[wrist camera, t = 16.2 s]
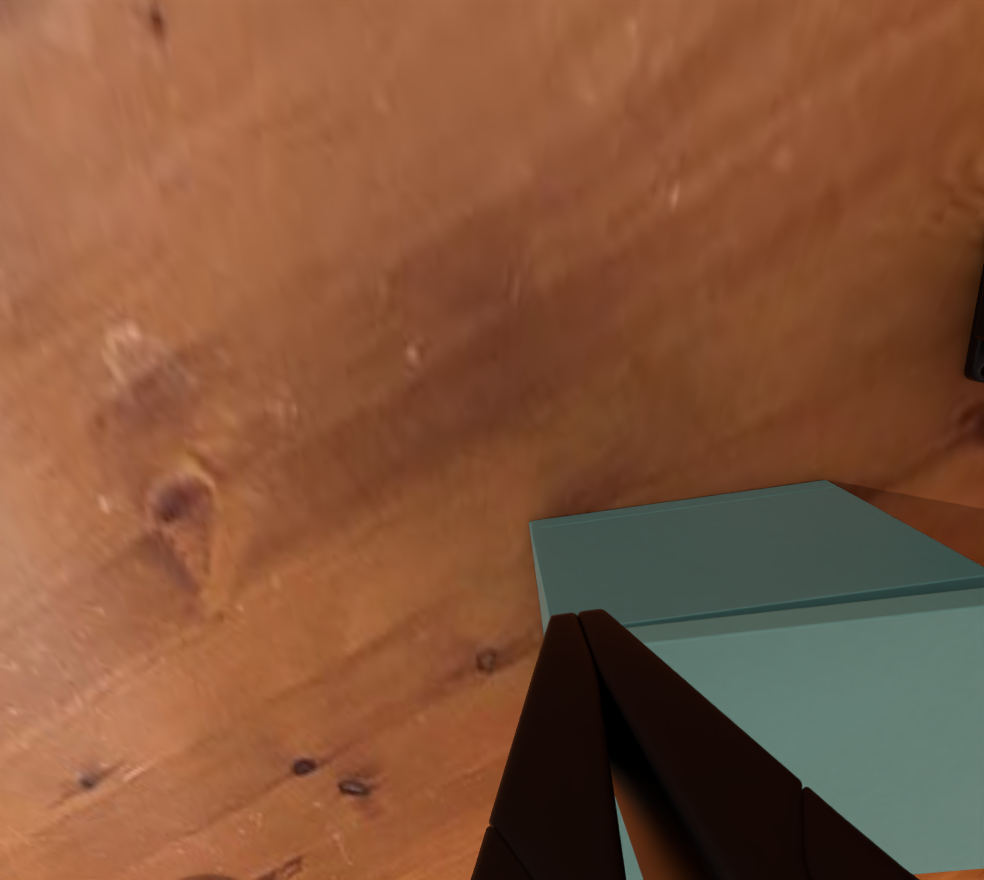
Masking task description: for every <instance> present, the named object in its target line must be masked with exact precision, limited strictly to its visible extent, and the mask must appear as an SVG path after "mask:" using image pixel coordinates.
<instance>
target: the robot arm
mask: <svg viewBox="0 0 984 880" xmlns="http://www.w3.org/2000/svg"><path fill="white" fill-rule="evenodd" d="M982 367H983V369H982V371H981V372H980V370H981V368H982ZM964 371H965V376H966V378H967V379H969V380H972V381H977V382H984V265H983V270H982V276H981V281H980V287H979V293H978V298H977V304H976V309H975V315H974V320H973V326H972V331H971V337H970V343H969V348H968V354H967V359H966V365H965V370H964ZM615 798H616V801H617V804H618V807H619V809H620V812H621V815H622V818H623V821H624V824H625V827H626V830H627V833H628V836H629V839H630V842H631V845H632V848H633V851H634V854H635V857H636V860H637V863H638V865H639V868H640V871H641V874H642V877H643V880H919V879H918V878H917V877H915V876H914V875H913V874H912V873H910V872H909V871H908V870H906V869H905V868H904V867H903V866H901V865H900V864H899V863H898V862H897V861H895V860H894V859H893V858H892V857H891V856H889V855H888V854H887V853H886V852H885V851H883V850H882V849H881V848H880V847H879V846H877V845H876V844H875V843H874V842H873V841H871V840H870V839H869V838H868V837H867V836H865V835H864V834H863V833H862V832H861V831H860V830H858V829H857V828H856V827H855V826H854V825H852V824H851V823H850V822H849V821H848V820H846V819H845V818H844V817H843V816H842V815H840V814H839V813H838V812H837V811H836V810H835V809H834V808H832V807H831V806H830V805H829V804H828V803H827V802H826V801H824V800H823V799H822V798H821V797H820V796H819V795H817V794H816V793H815V792H814V791H813V790H812V789H811V788H809V787H804V788H803V790H802V782H801V780H800V779H799V778H798V777H796V776H795V775H794V774H793V773H792V772H791V771H789V770H788V769H787V768H786V767H785V766H784V765H783V764H781V763H780V762H779V761H778V760H777V759H776V758H775V757H773V756H772V755H771V754H770V753H769V752H768V751H766V750H765V749H764V748H763V747H762V746H761V745H760V744H758V743H757V742H756V741H755V740H754V739H753V738H752V737H750V736H749V735H748V734H747V733H746V732H745V731H743V730H742V729H741V728H740V727H739V726H738V725H737V724H735V723H734V722H733V721H732V720H731V719H730V718H729V717H727V716H726V715H725V714H724V713H723V712H722V711H720V710H719V709H718V708H717V707H716V706H715V705H714V704H712V703H711V702H710V701H709V700H708V699H707V698H706V697H704V696H703V695H702V694H701V693H700V692H699V691H697V690H696V689H695V688H694V687H693V686H692V685H691V684H689V683H688V682H687V681H686V680H685V679H684V678H682V677H681V676H680V675H679V674H678V673H677V672H676V671H674V670H673V669H672V668H671V667H670V666H669V665H668V664H666V663H665V662H664V661H663V660H662V659H661V658H659V657H658V656H657V655H656V654H655V653H654V652H653V651H651V650H650V649H649V648H648V647H647V646H646V645H645V644H643V643H642V642H641V641H640V640H639V639H638V638H636V637H635V636H634V635H633V634H632V633H631V632H630V631H628V630H627V629H626V628H625V627H624V626H623V625H622V624H620V623H619V622H618V621H617V620H616V619H615V618H613V617H612V616H611V615H610V614H609V613H608V612H607V611H605V610H603V609H594V610H586V611H581V612H579V613H578V616H577V615H576V614H575V613H572V612H571V613H564V614H557V615H552V616H551V617H550V619H549V622H548V626H547V629H546V632H545V636H544V639H543V642H542V646H541V649H540V652H539V656H538V659H537V662H536V666H535V669H534V672H533V676H532V679H531V682H530V686H529V689H528V692H527V696H526V699H525V702H524V706H523V709H522V713H521V716H520V719H519V723H518V726H517V729H516V733H515V736H514V739H513V743H512V746H511V749H510V753H509V756H508V759H507V763H506V766H505V769H504V773H503V776H502V779H501V783H500V786H499V789H498V793H497V796H496V799H495V803H494V806H493V809H492V813H491V816H490V820H489V824H490V826H489V827H487V829H486V832H485V835H484V838H483V842H482V845H481V848H480V852H479V855H478V858H477V862H476V865H475V868H474V871H473V874H472V877H471V880H626V873H625V866H624V859H623V851H622V844H621V837H620V830H619V823H618V816H617V808H616V801H615Z"/></svg>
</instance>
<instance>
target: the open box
mask: <svg viewBox="0 0 984 880" xmlns="http://www.w3.org/2000/svg"><path fill="white" fill-rule="evenodd" d="M529 527H530V535H531V542H532V550H533V557H534V565H535V572H536V580H537V587H538V595H539V603H540V610H541V618H542V625H543V633H544V636H545V632H546V629H547V626H548V622H549V619H550V617H551V616H552V615H557V614H564V613H571V612H572V613H575V614H576V615H577V616H578V613H579V612H581V611H586V610H594V609H603V610H605V611H607V612H608V613H609V614H610V615H611V616H612V617H613V618H615V619H616V620H617V621H618V622H619V623H620V624H622V625H623V626H624V627H625V628H627V627H636V626H645V625H654V624H663V623H672V622H681V621H689V620H698V619H707V618H716V617H725V616H734V615H743V614H752V613H761V612H769V611H778V610H787V609H796V608H805V607H814V606H823V605H832V604H841V603H849V602H858V601H867V600H876V599H885V598H894V597H903V596H912V595H921V594H929V593H938V592H947V591H956V590H965V589H974V588H983V587H984V567H983V566H981V565H979V564H977V563H976V562H974V561H972V560H970V559H968V558H967V557H965V556H963V555H961V554H959V553H958V552H956V551H954V550H952V549H950V548H949V547H947V546H945V545H943V544H941V543H940V542H938V541H936V540H934V539H932V538H930V537H929V536H927V535H925V534H923V533H921V532H920V531H918V530H916V529H914V528H912V527H911V526H909V525H907V524H905V523H903V522H902V521H900V520H898V519H896V518H894V517H893V516H891V515H889V514H887V513H885V512H884V511H882V510H880V509H878V508H876V507H875V506H873V505H871V504H869V503H867V502H865V501H864V500H862V499H860V498H858V497H856V496H855V495H853V494H851V493H849V492H847V491H846V490H844V489H842V488H840V487H837V486H836V485H834V484H832V483H831V482H829V481H827V480H821V481H814V482H807V483H800V484H793V485H786V486H778V487H771V488H764V489H757V490H750V491H743V492H735V493H728V494H721V495H714V496H707V497H700V498H692V499H685V500H678V501H671V502H664V503H657V504H650V505H642V506H635V507H628V508H621V509H614V510H607V511H599V512H592V513H585V514H578V515H571V516H564V517H556V518H549V519H542V520H535V521H530V522H529Z"/></svg>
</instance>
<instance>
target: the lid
mask: <svg viewBox="0 0 984 880" xmlns="http://www.w3.org/2000/svg"><path fill="white" fill-rule="evenodd" d="M626 629H627V630H628V631H630V632H631V633H632V634H633V635H634V636H635V637H636V638H638V639H639V640H640V641H641V642H642V643H643V644H645V645H646V646H647V647H648V648H649V649H650V650H651V651H653V652H654V653H655V654H656V655H657V656H658V657H659V658H661V659H662V660H663V661H664V662H665V663H666V664H668V665H669V666H670V667H671V668H672V669H673V670H674V671H676V672H677V673H678V674H679V675H680V676H681V677H682V678H684V679H685V680H686V681H687V682H688V683H689V684H691V685H692V686H693V687H694V688H695V689H696V690H697V691H699V692H700V693H701V694H702V695H703V696H704V697H706V698H707V699H708V700H709V701H710V702H711V703H712V704H714V705H715V706H716V707H717V708H718V709H719V710H720V711H722V712H723V713H724V714H725V715H726V716H727V717H729V718H730V719H731V720H732V721H733V722H734V723H735V724H737V725H738V726H739V727H740V728H741V729H742V730H743V731H745V732H746V733H747V734H748V735H749V736H750V737H752V738H753V739H754V740H755V741H756V742H757V743H758V744H760V745H761V746H762V747H763V748H764V749H765V750H766V751H768V752H769V753H770V754H771V755H772V756H773V757H775V758H776V759H777V760H778V761H779V762H780V763H781V764H783V765H784V766H785V767H786V768H787V769H788V770H789V771H791V772H792V773H793V774H794V775H795V776H796V777H798V778H799V779H800V780H801V782H802V790H803V788H804V787H809V788H811V789H812V790H813V791H814V792H815V793H816V794H817V795H819V796H820V797H821V798H822V799H823V800H824V801H826V802H827V803H828V804H829V805H830V806H831V807H832V808H834V809H835V810H836V811H837V812H838V813H839V814H840V815H842V816H843V817H844V818H845V819H846V820H848V821H849V822H850V823H851V824H852V825H854V826H855V827H856V828H857V829H858V830H860V831H861V832H862V833H863V834H864V835H865V836H867V837H868V838H869V839H870V840H871V841H873V842H874V843H875V844H876V845H877V846H879V847H880V848H881V849H882V850H883V851H885V852H886V853H887V854H888V855H889V856H891V857H892V858H893V859H894V860H895V861H897V862H898V863H899V864H900V865H901V866H903V867H904V868H905V869H906V870H908V871H909V872H910V873H912V874H922V873H934V872H946V871H958V870H970V869H982V868H984V587H983V588H974V589H965V590H956V591H947V592H938V593H929V594H921V595H912V596H903V597H894V598H885V599H876V600H867V601H858V602H849V603H841V604H832V605H823V606H814V607H805V608H796V609H787V610H778V611H769V612H761V613H752V614H743V615H734V616H725V617H716V618H707V619H698V620H689V621H681V622H672V623H663V624H654V625H645V626H636V627H627V628H626ZM615 801H616V798H615ZM616 808H617V816H618V823H619V830H620V837H621V844H622V851H623V859H624V866H625V873H626V880H643V877H642V874H641V871H640V868H639V865H638V863H637V860H636V857H635V854H634V851H633V848H632V845H631V842H630V839H629V836H628V833H627V830H626V827H625V824H624V821H623V818H622V815H621V812H620V809H619V807H618V804H617V801H616Z"/></svg>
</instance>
